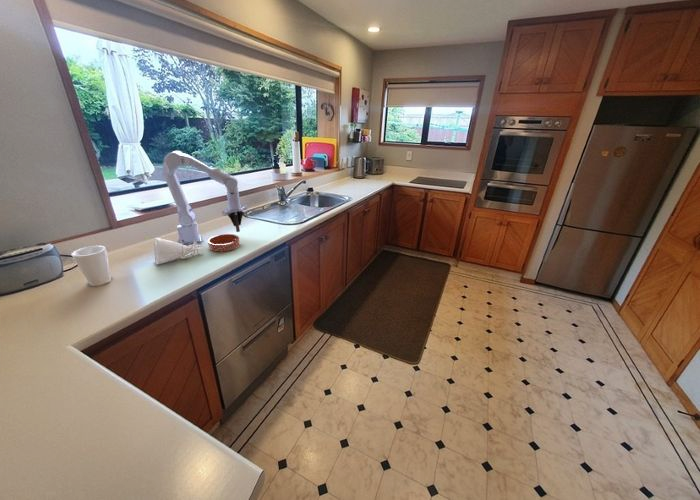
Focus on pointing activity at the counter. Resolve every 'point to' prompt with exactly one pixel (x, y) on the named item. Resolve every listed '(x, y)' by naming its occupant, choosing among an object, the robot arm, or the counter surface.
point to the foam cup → (93, 264)
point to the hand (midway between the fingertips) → (237, 225)
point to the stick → (237, 225)
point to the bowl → (223, 242)
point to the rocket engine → (173, 250)
